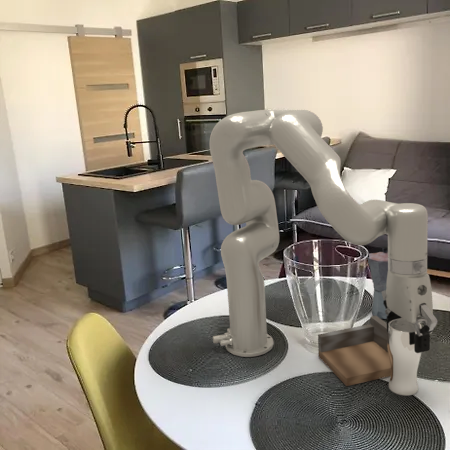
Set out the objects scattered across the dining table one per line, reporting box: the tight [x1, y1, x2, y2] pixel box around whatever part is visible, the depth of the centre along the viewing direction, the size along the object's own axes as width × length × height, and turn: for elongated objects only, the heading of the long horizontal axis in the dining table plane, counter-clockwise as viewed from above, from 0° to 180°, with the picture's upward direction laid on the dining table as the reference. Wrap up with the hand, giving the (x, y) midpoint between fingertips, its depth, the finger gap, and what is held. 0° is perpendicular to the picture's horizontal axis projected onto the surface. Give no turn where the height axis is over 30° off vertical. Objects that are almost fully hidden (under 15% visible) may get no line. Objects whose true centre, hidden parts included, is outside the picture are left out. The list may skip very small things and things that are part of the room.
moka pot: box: [367, 246, 388, 320], centre depth 144 cm, size 10×15×20 cm, turn 54°
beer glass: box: [387, 317, 423, 397], centre depth 109 cm, size 7×7×15 cm
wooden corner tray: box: [317, 315, 391, 387], centre depth 121 cm, size 16×14×8 cm
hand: (407, 341), depth 108 cm, fingers open, 9 cm apart
